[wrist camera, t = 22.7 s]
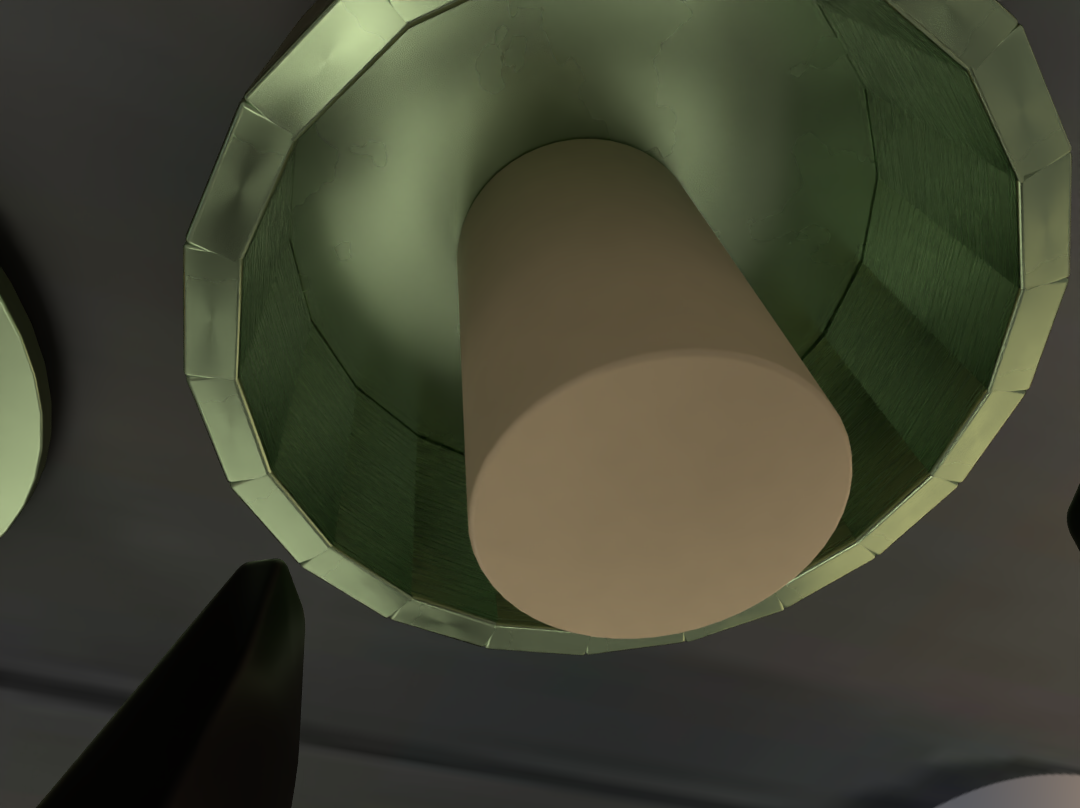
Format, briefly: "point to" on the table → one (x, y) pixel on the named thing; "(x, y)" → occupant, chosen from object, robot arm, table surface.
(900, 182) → the tin
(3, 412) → the lid
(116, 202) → the table surface
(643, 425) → the candle
